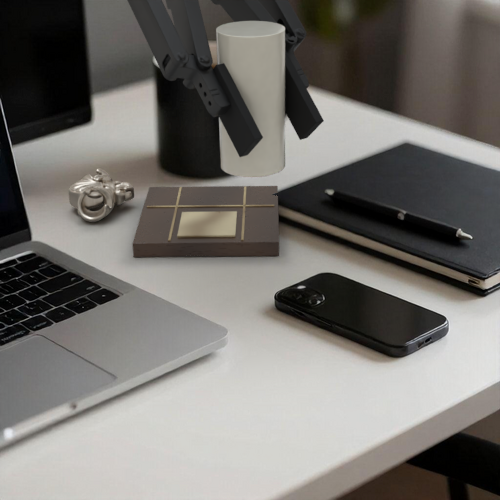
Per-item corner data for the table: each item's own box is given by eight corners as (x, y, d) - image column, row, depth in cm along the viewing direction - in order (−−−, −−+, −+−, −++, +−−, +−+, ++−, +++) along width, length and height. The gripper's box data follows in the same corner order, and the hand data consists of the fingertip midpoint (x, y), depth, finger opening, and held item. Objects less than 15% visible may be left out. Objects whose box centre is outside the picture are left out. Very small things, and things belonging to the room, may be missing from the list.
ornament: (136, 221, 96) (133, 189, 94) (69, 226, 95) (65, 194, 94) (133, 192, 103) (131, 161, 102) (71, 196, 102) (68, 165, 101)
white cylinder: (284, 153, 76) (284, 20, 72) (286, 177, 72) (286, 36, 67) (221, 154, 77) (217, 21, 72) (219, 178, 72) (214, 37, 67)
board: (277, 198, 101) (277, 183, 100) (279, 256, 88) (279, 240, 88) (149, 199, 101) (148, 185, 101) (133, 257, 89) (132, 241, 88)
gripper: (225, -86, 82) (345, 136, 78) (38, -65, 73) (163, 190, 68) (261, -148, 76) (394, 89, 72) (62, -135, 66) (202, 141, 62)
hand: (282, 138), depth 70 cm, fingers closed on white cylinder, 5 cm apart
